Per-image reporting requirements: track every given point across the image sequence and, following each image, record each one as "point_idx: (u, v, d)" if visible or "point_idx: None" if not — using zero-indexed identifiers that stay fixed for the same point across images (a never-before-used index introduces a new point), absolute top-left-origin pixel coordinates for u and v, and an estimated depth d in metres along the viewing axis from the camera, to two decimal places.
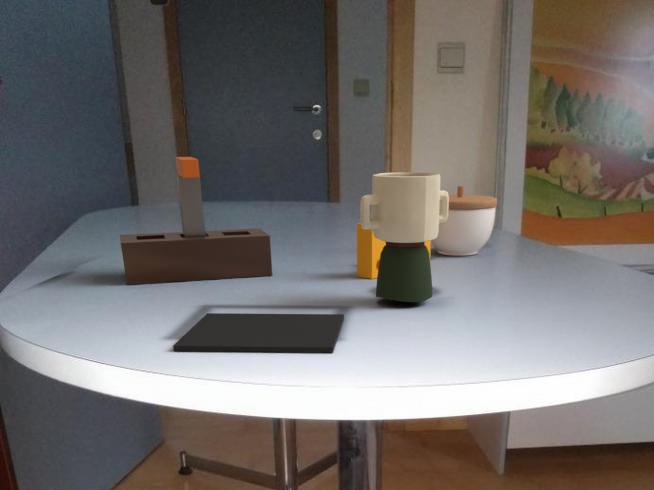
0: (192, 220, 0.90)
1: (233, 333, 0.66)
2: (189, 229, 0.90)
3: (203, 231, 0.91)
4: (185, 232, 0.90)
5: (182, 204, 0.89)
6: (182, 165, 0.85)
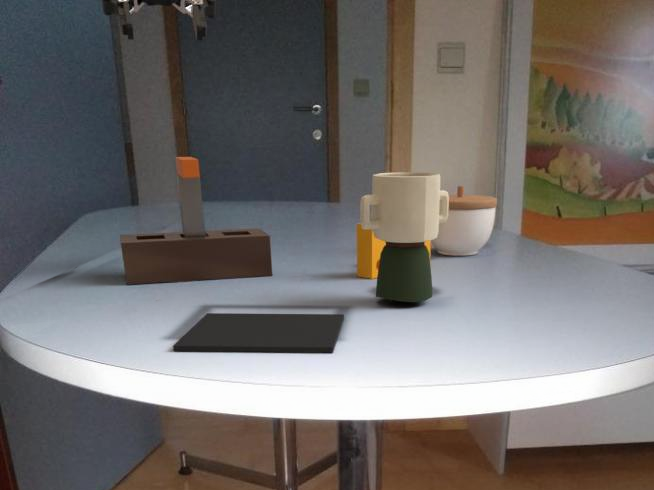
0: (192, 220, 0.90)
1: (233, 333, 0.66)
2: (189, 229, 0.90)
3: (203, 231, 0.91)
4: (185, 232, 0.90)
5: (182, 204, 0.89)
6: (182, 165, 0.85)
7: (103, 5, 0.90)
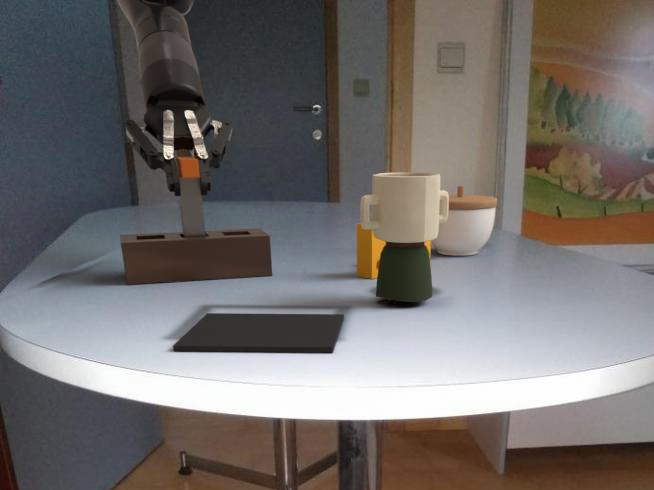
0: (192, 220, 0.90)
1: (233, 333, 0.66)
2: (189, 229, 0.90)
3: (203, 231, 0.91)
4: (185, 232, 0.90)
5: (182, 204, 0.89)
6: (182, 165, 0.85)
7: (151, 162, 0.88)
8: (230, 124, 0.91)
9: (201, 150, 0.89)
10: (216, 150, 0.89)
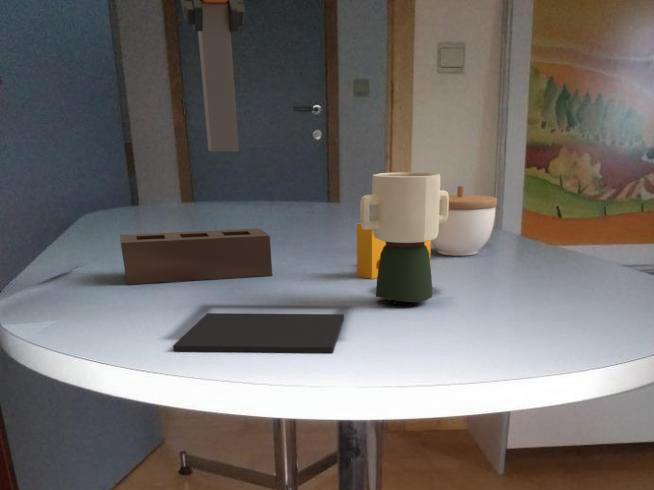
0: (217, 68, 0.66)
1: (233, 333, 0.66)
2: (213, 81, 0.67)
3: (232, 85, 0.67)
4: (207, 85, 0.67)
5: (204, 44, 0.65)
6: None
7: None
8: None
9: None
10: None
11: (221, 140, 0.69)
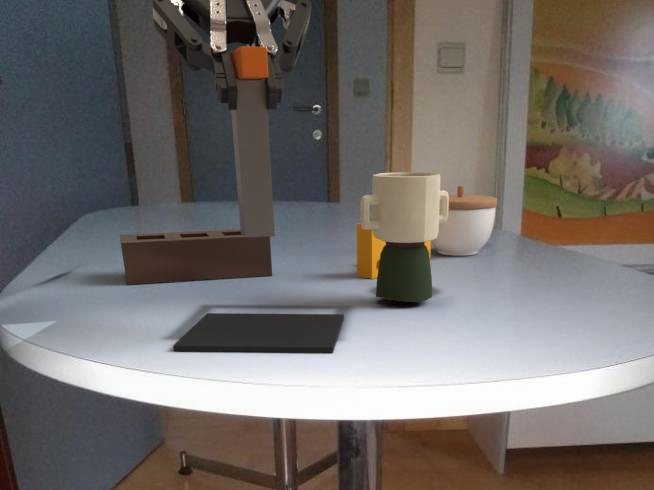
0: (252, 149, 0.60)
1: (233, 333, 0.66)
2: (248, 162, 0.60)
3: (268, 166, 0.60)
4: (241, 167, 0.60)
5: (238, 123, 0.58)
6: (242, 56, 0.54)
7: (192, 58, 0.58)
8: (308, 5, 0.60)
9: (267, 40, 0.58)
10: (290, 41, 0.58)
11: (256, 224, 0.62)
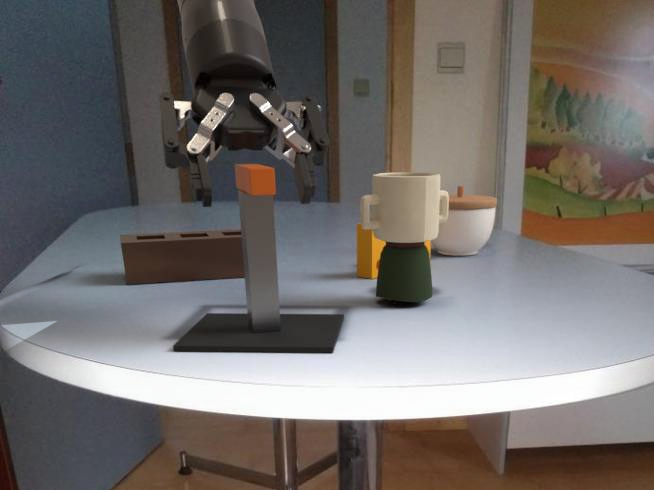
0: (260, 254, 0.63)
1: (233, 333, 0.66)
2: (256, 266, 0.64)
3: (275, 269, 0.64)
4: (250, 271, 0.64)
5: (247, 232, 0.62)
6: (252, 177, 0.58)
7: (166, 156, 0.61)
8: (313, 98, 0.65)
9: (298, 141, 0.63)
10: (323, 140, 0.63)
11: (263, 321, 0.66)
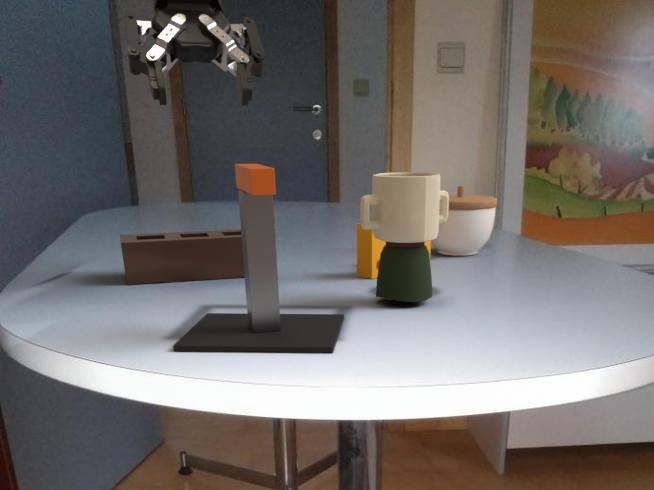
0: (260, 254, 0.63)
1: (233, 333, 0.66)
2: (256, 266, 0.64)
3: (275, 269, 0.64)
4: (250, 271, 0.64)
5: (247, 232, 0.62)
6: (252, 177, 0.58)
7: (130, 64, 0.75)
8: (252, 21, 0.79)
9: (239, 54, 0.77)
10: (259, 53, 0.77)
11: (263, 321, 0.66)
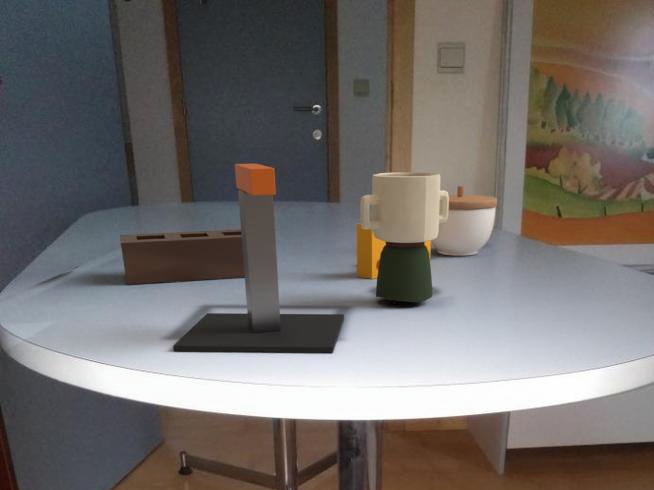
0: (260, 254, 0.63)
1: (233, 333, 0.66)
2: (256, 266, 0.64)
3: (275, 269, 0.64)
4: (250, 271, 0.64)
5: (247, 232, 0.62)
6: (252, 177, 0.58)
7: None
8: None
9: None
10: None
11: (263, 321, 0.66)
